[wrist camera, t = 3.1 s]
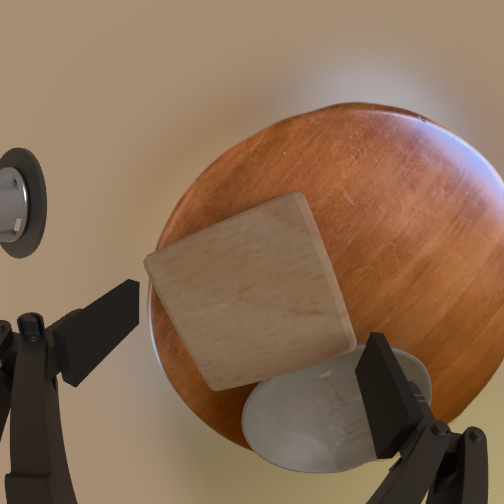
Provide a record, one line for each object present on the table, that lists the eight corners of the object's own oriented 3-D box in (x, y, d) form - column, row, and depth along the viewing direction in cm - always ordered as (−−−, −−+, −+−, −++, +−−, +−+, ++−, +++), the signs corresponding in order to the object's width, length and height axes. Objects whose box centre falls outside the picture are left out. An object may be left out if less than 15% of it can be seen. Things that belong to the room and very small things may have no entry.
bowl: (265, 447, 45) (261, 480, 37) (231, 329, 39) (218, 363, 31) (404, 425, 40) (415, 455, 32) (421, 297, 34) (447, 323, 26)
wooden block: (216, 223, 35) (137, 259, 16) (292, 191, 33) (302, 187, 14) (248, 294, 36) (211, 395, 17) (322, 266, 35) (360, 351, 15)
